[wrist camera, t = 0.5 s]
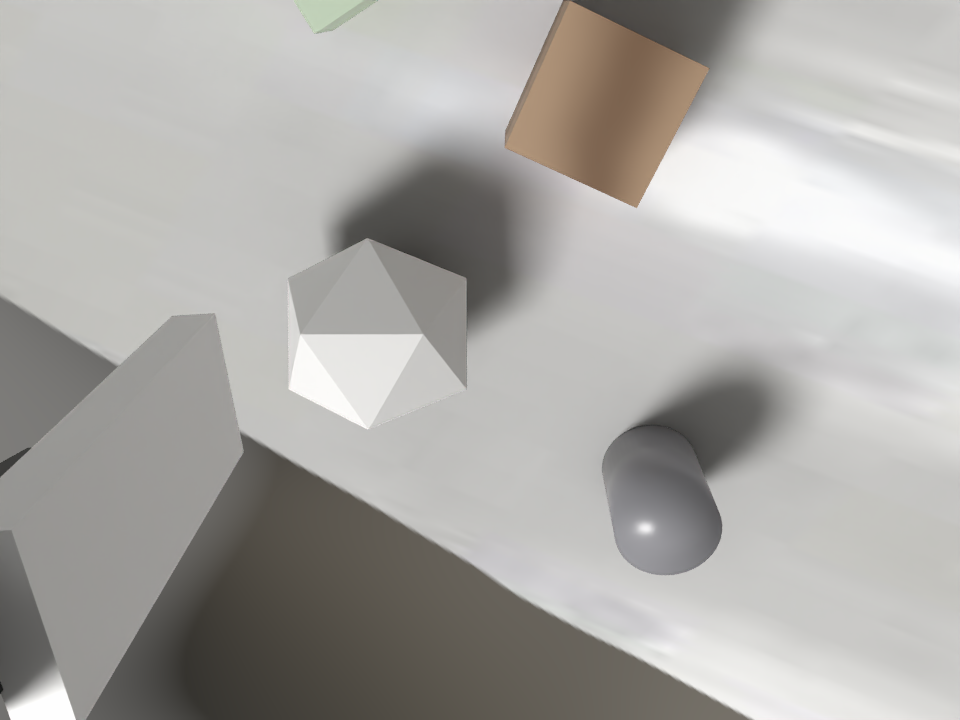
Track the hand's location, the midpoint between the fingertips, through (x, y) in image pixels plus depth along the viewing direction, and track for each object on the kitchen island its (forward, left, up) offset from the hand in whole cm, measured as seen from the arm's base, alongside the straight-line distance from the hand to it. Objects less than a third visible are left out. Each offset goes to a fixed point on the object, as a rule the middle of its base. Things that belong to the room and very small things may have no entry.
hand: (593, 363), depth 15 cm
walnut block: (0, +3, -27) cm, 27 cm away
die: (0, -11, -27) cm, 29 cm away
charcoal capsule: (+16, -8, -26) cm, 32 cm away
